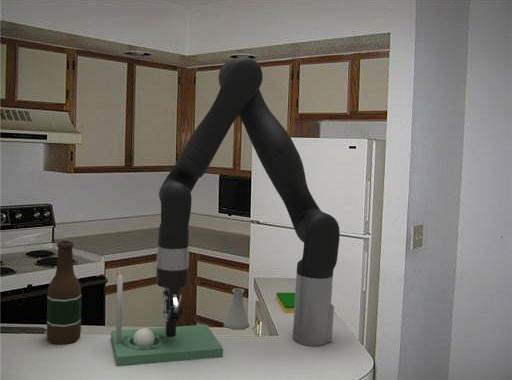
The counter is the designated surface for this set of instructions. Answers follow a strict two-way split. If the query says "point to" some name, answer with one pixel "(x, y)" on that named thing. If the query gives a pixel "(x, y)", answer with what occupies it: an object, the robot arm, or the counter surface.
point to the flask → (236, 312)
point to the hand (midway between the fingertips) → (170, 335)
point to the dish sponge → (286, 301)
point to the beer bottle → (64, 300)
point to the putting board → (162, 341)
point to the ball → (144, 338)
